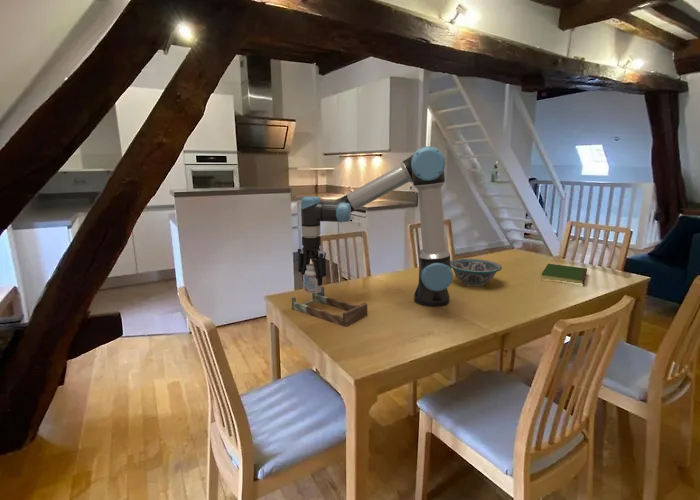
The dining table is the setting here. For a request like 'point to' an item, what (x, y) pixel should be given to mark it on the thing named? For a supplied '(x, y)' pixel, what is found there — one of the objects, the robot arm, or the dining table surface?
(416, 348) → the dining table surface
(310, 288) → the pill bottle
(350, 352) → the dining table surface
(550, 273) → the hardcover book
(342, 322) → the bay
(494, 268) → the bowl
